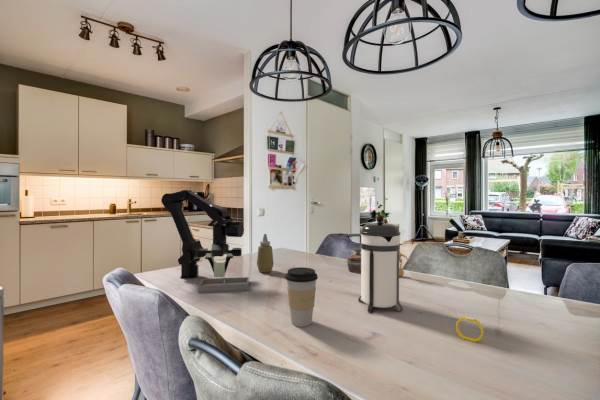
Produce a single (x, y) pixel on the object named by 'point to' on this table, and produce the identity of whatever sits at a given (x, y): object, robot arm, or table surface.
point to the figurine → (401, 264)
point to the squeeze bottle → (265, 256)
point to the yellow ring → (471, 319)
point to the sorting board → (223, 284)
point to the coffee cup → (301, 294)
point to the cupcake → (354, 261)
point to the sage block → (219, 269)
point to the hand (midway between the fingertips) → (219, 272)
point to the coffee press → (380, 265)
